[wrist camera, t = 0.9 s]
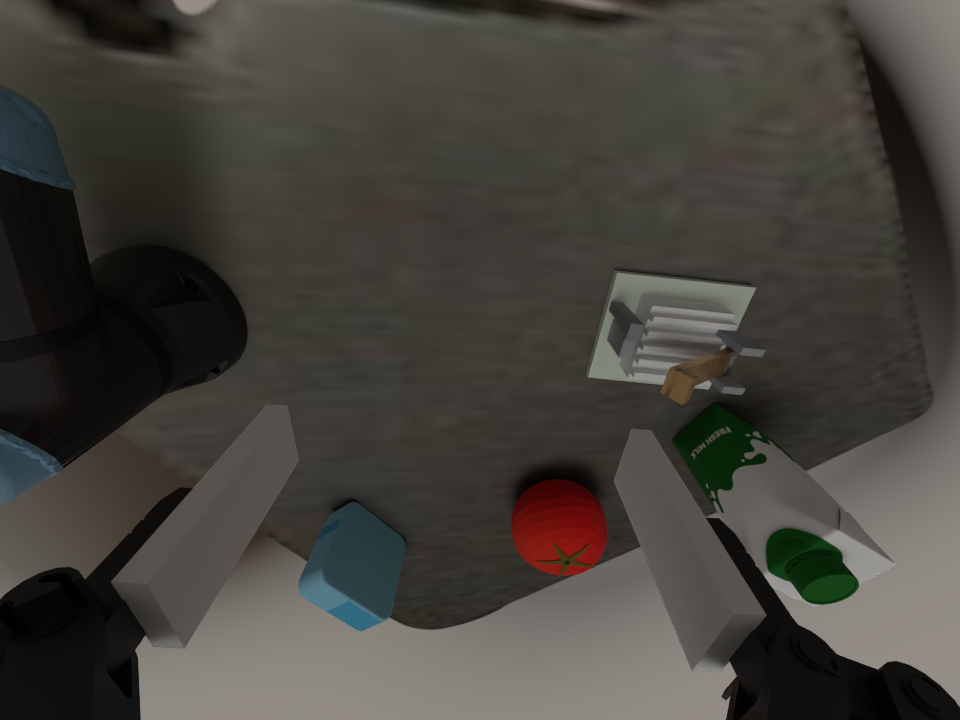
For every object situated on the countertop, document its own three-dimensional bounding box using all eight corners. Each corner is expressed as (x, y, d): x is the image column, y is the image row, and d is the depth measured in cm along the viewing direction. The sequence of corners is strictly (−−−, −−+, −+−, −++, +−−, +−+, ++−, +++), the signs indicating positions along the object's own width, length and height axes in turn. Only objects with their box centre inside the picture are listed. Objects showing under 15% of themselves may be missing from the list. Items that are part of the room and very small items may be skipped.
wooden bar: (657, 393, 31) (681, 407, 30) (668, 364, 30) (694, 377, 28) (718, 368, 37) (741, 378, 35) (730, 342, 36) (754, 352, 34)
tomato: (599, 515, 54) (621, 588, 45) (516, 526, 56) (521, 599, 46) (593, 458, 49) (617, 527, 40) (502, 471, 51) (505, 541, 41)
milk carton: (714, 393, 44) (866, 548, 26) (766, 426, 46) (938, 591, 28) (660, 441, 47) (761, 606, 30) (710, 470, 49) (832, 640, 32)
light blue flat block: (330, 509, 55) (292, 592, 44) (351, 496, 53) (317, 578, 43) (387, 551, 59) (365, 636, 49) (408, 540, 58) (389, 625, 47)
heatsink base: (585, 372, 43) (604, 414, 36) (614, 269, 37) (643, 295, 30) (704, 384, 43) (745, 428, 36) (749, 284, 38) (809, 313, 31)
